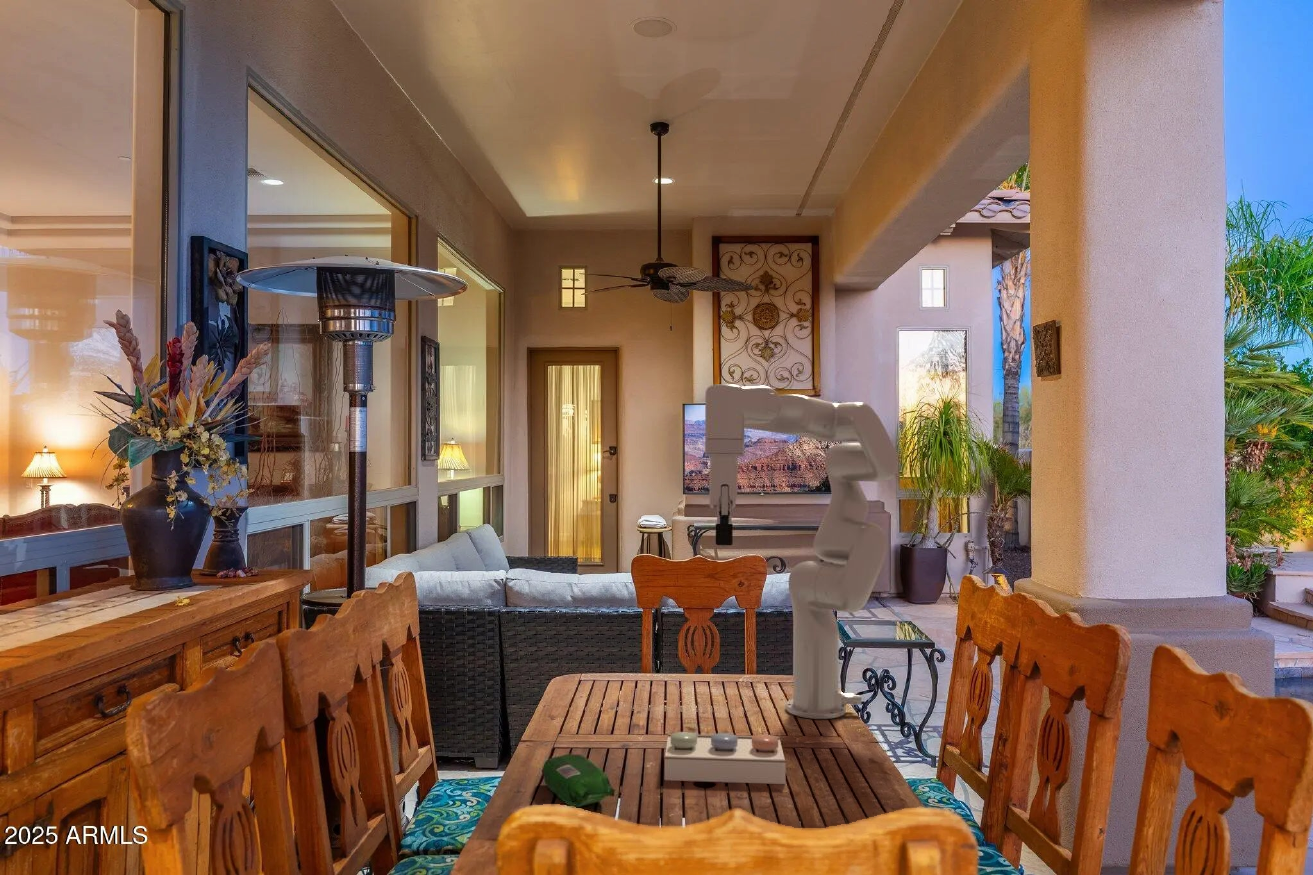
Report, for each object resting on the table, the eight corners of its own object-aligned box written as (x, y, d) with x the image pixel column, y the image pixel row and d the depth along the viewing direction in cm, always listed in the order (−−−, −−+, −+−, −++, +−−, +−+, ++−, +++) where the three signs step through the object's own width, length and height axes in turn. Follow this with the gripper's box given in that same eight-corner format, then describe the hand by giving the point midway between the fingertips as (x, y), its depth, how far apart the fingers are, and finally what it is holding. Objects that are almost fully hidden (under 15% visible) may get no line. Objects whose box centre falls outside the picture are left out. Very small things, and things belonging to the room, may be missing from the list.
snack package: (573, 820, 125) (574, 785, 126) (537, 783, 139) (537, 751, 139) (617, 812, 129) (617, 777, 129) (577, 776, 143) (577, 745, 143)
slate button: (737, 754, 148) (737, 733, 148) (737, 763, 144) (738, 742, 144) (710, 753, 149) (710, 732, 149) (710, 762, 144) (711, 741, 144)
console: (779, 758, 152) (779, 736, 152) (785, 783, 140) (785, 760, 140) (668, 754, 153) (668, 733, 153) (664, 780, 141) (664, 757, 141)
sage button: (697, 752, 149) (697, 732, 149) (696, 762, 144) (696, 741, 144) (671, 752, 149) (671, 731, 149) (669, 761, 145) (670, 740, 145)
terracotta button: (777, 755, 148) (777, 734, 148) (779, 764, 143) (779, 743, 143) (750, 754, 148) (750, 733, 148) (752, 764, 144) (752, 742, 144)
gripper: (705, 449, 170) (704, 540, 170) (704, 448, 155) (704, 548, 155) (742, 449, 170) (742, 541, 169) (745, 448, 155) (745, 549, 154)
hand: (724, 544), depth 162 cm, fingers closed
